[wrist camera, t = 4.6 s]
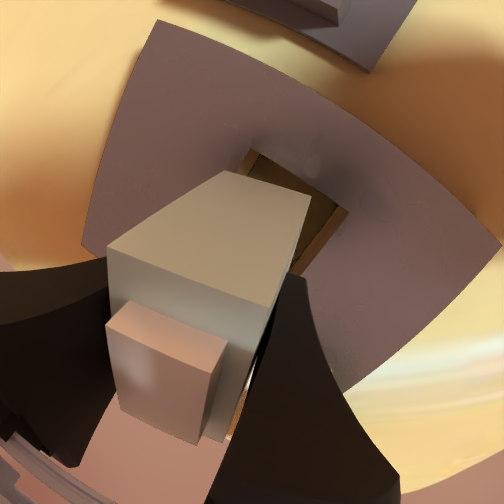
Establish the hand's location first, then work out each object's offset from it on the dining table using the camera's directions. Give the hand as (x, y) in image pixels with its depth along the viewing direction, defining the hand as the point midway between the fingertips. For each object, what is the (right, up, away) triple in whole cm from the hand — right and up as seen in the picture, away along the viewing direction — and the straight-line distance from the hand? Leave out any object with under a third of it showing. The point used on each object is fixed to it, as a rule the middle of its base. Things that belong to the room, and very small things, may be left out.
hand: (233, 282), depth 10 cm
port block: (+2, +3, +5) cm, 6 cm away
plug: (+1, +1, +1) cm, 2 cm away
